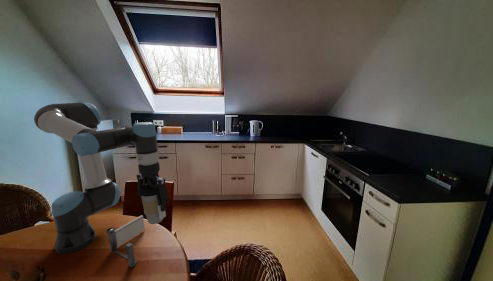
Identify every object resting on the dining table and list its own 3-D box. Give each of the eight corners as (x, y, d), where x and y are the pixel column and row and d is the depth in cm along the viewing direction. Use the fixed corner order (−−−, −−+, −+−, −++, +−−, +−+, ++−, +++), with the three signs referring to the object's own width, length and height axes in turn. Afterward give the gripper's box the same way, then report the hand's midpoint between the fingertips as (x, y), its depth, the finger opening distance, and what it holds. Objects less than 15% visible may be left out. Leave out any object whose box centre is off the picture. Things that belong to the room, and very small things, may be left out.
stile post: (128, 266, 89) (125, 245, 86) (132, 263, 90) (129, 242, 88) (131, 267, 88) (128, 246, 85) (135, 265, 89) (132, 244, 87)
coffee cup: (159, 228, 84) (154, 192, 81) (137, 225, 86) (132, 190, 83) (171, 214, 93) (168, 182, 90) (152, 212, 95) (148, 180, 92)
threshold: (114, 252, 96) (114, 251, 96) (117, 250, 97) (117, 250, 97) (135, 263, 90) (135, 263, 90) (137, 262, 90) (137, 261, 90)
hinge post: (108, 251, 96) (104, 230, 94) (115, 246, 99) (112, 226, 97) (112, 254, 95) (109, 232, 92) (119, 249, 98) (116, 228, 95)
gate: (117, 246, 98) (115, 231, 96) (116, 245, 98) (113, 230, 97) (144, 229, 110) (143, 215, 108) (143, 228, 110) (141, 215, 109)
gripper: (122, 161, 85) (130, 213, 91) (159, 169, 76) (166, 227, 81) (139, 156, 92) (145, 205, 97) (175, 163, 82) (180, 216, 88)
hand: (155, 214), depth 89 cm, fingers closed on coffee cup, 8 cm apart
